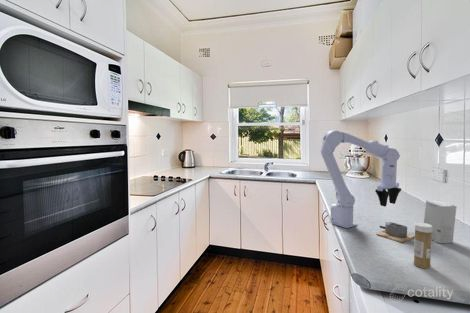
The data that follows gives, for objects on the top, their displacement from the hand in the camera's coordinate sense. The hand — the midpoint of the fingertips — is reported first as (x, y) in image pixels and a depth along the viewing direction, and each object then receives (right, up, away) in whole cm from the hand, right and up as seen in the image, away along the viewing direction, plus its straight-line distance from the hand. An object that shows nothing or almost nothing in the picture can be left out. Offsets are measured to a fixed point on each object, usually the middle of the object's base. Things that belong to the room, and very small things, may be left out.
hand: (387, 204), depth 117 cm
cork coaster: (-3, -11, -11) cm, 16 cm away
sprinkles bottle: (-10, -13, -35) cm, 38 cm away
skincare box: (+11, -11, -15) cm, 22 cm away
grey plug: (-4, -10, -10) cm, 15 cm away
